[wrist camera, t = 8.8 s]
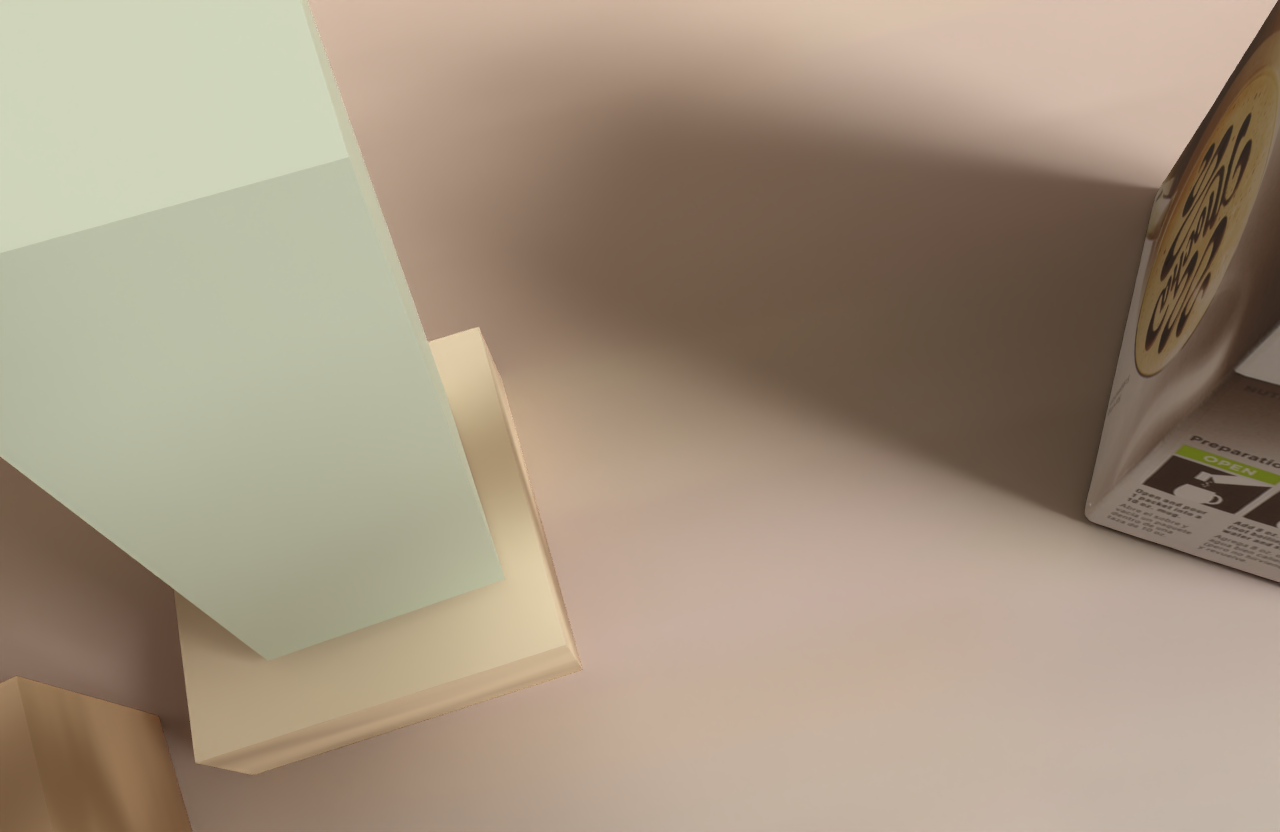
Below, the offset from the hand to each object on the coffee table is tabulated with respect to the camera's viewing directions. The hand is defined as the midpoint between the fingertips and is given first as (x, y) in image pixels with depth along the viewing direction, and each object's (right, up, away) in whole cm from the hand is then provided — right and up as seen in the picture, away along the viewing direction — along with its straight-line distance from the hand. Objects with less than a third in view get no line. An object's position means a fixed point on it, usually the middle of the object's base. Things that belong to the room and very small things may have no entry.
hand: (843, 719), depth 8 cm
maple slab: (-7, -1, +15) cm, 17 cm away
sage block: (-7, +1, +12) cm, 14 cm away
